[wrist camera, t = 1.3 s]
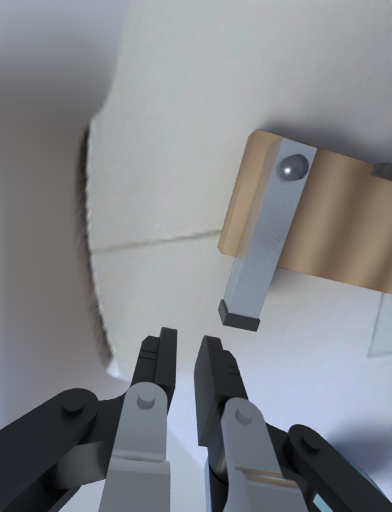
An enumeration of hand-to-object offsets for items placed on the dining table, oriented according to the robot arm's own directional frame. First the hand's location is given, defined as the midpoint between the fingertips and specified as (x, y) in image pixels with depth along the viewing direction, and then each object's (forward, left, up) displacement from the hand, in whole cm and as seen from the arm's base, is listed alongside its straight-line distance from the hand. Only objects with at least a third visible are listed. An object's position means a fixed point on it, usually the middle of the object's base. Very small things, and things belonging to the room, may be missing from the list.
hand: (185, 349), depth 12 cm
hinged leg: (-6, -5, -14) cm, 16 cm away
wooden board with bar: (-16, -8, -17) cm, 24 cm away
